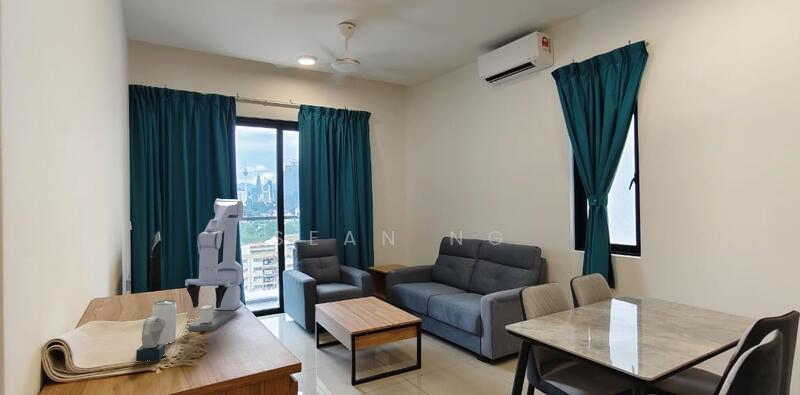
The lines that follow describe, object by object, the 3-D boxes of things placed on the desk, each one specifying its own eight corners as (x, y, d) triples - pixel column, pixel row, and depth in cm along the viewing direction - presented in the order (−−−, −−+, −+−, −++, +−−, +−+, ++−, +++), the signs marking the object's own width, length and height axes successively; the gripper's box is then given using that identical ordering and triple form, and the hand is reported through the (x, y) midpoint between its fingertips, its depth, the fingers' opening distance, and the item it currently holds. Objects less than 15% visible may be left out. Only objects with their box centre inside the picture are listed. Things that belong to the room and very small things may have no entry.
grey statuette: (167, 352, 115) (168, 313, 115) (156, 363, 107) (158, 321, 107) (144, 353, 113) (146, 313, 114) (132, 364, 106) (134, 322, 106)
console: (212, 315, 153) (213, 311, 153) (234, 316, 153) (234, 312, 153) (188, 330, 135) (188, 325, 135) (212, 330, 135) (212, 326, 135)
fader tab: (204, 319, 141) (205, 305, 141) (213, 320, 141) (214, 305, 141) (199, 323, 137) (199, 308, 137) (208, 323, 137) (208, 308, 137)
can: (180, 339, 126) (181, 300, 126) (166, 346, 120) (167, 305, 120) (160, 338, 127) (162, 299, 127) (145, 345, 120) (147, 304, 120)
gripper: (181, 268, 136) (179, 309, 135) (224, 269, 136) (223, 310, 135) (191, 265, 143) (190, 304, 142) (233, 266, 143) (231, 305, 142)
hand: (206, 307), depth 139 cm, fingers open, 7 cm apart
